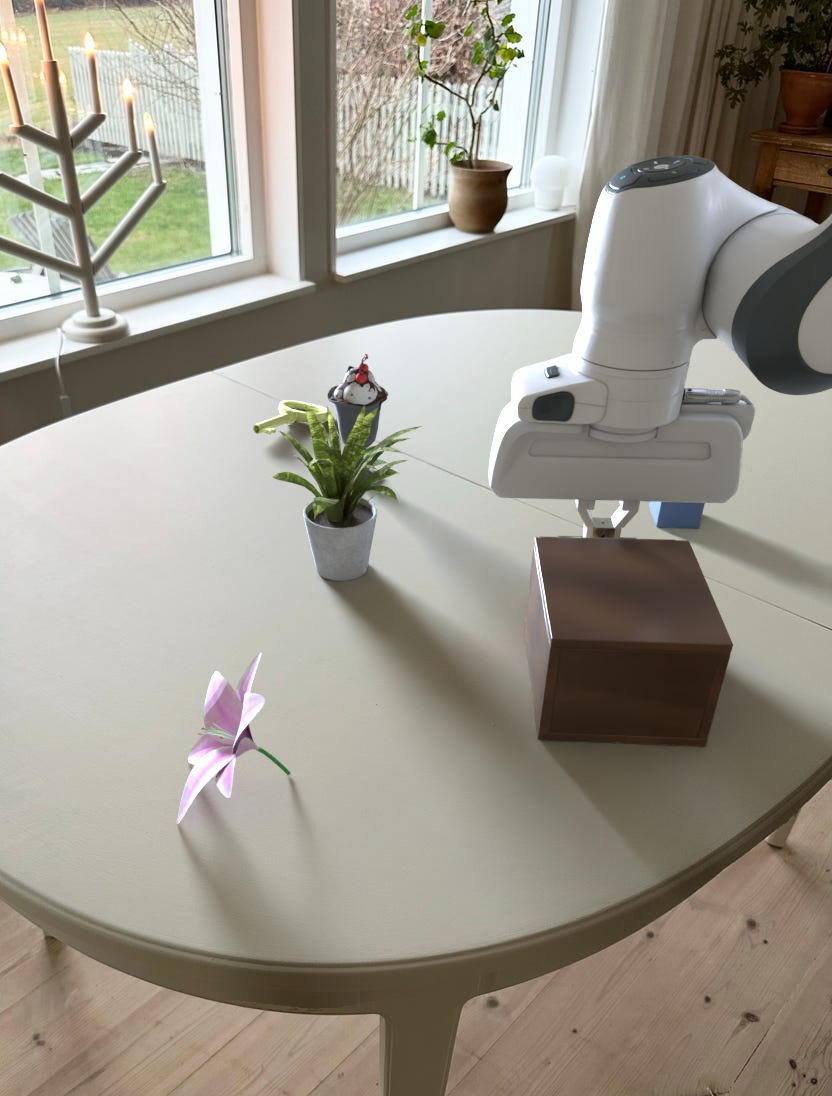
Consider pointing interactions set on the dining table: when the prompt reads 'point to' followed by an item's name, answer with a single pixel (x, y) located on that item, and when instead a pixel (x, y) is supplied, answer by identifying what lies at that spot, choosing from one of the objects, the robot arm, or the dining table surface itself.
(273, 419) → the key
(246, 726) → the lily
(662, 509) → the block
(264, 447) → the dining table surface
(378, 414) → the sundae
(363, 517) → the house plant
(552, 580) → the cabinet
